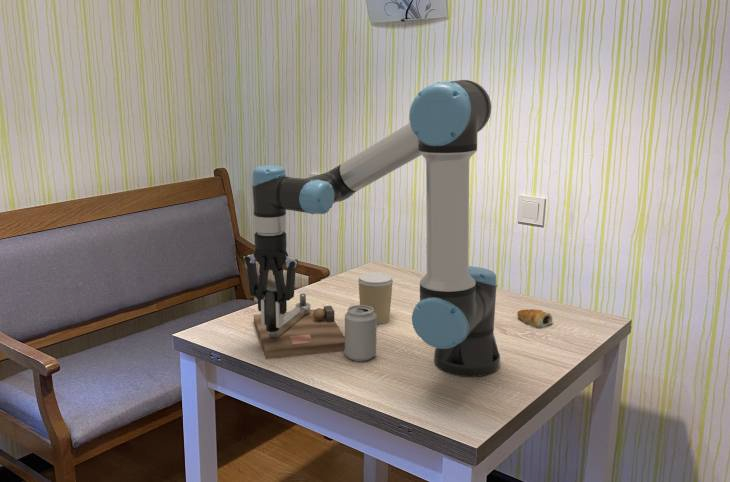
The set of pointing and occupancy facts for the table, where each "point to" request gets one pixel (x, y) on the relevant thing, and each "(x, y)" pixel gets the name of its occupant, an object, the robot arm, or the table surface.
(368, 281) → the coffee cup
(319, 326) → the nutcracker board
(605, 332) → the table surface
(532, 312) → the pastry
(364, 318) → the can
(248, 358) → the table surface
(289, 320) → the lever
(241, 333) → the table surface
